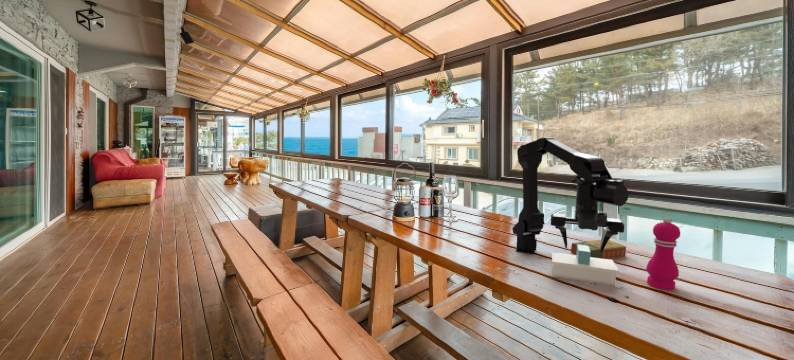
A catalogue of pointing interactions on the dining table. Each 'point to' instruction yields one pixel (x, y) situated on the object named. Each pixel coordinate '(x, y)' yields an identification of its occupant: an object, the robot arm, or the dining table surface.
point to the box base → (584, 275)
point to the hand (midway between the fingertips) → (583, 249)
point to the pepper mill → (663, 256)
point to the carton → (609, 251)
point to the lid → (584, 260)
